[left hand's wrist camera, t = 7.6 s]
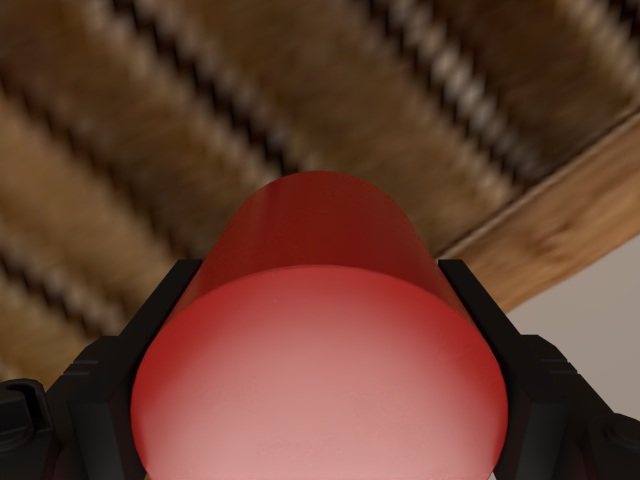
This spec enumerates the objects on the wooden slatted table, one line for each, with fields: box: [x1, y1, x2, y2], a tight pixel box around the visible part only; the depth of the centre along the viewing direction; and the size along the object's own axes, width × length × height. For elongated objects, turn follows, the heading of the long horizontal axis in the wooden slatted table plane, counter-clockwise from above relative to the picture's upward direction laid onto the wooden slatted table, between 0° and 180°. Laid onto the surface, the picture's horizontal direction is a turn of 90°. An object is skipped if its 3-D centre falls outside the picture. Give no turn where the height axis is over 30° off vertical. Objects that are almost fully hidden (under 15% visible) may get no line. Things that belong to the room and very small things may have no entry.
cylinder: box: [130, 171, 508, 480], centre depth 12 cm, size 8×8×8 cm
